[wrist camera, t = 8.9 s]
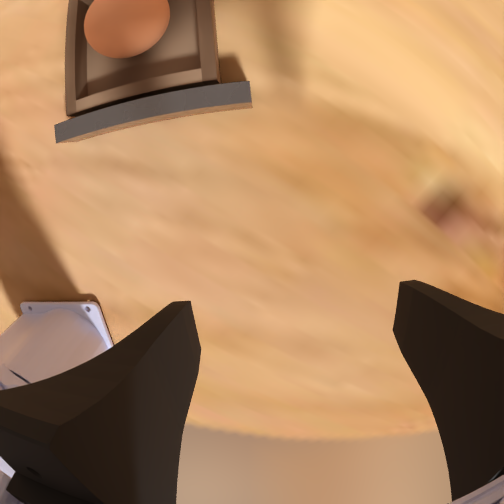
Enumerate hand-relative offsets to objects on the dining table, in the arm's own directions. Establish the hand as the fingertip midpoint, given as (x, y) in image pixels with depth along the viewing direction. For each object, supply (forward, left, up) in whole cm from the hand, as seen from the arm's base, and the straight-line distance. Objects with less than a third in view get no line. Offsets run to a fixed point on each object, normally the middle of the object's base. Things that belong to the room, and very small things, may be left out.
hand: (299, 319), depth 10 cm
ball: (-8, +14, -10) cm, 19 cm away
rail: (-7, +8, -10) cm, 15 cm away
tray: (-8, +14, -10) cm, 19 cm away
